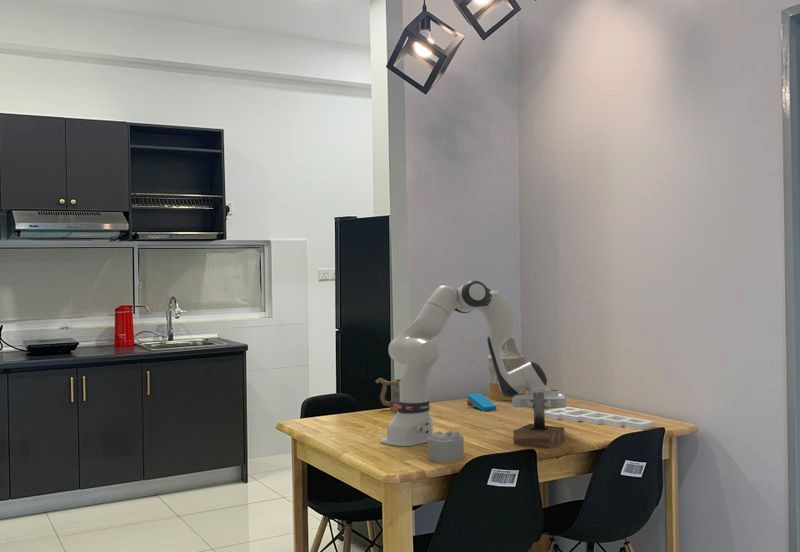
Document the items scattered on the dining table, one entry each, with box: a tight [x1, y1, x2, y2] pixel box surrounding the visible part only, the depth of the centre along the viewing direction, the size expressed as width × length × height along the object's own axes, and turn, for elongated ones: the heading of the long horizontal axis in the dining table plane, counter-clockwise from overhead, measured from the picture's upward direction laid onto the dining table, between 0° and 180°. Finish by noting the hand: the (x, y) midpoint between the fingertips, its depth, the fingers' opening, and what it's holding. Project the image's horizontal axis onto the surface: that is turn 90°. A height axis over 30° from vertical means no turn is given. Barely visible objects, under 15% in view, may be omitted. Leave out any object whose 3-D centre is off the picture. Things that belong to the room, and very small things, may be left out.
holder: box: [545, 406, 656, 431], centre depth 314 cm, size 45×18×3 cm, turn 36°
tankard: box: [375, 377, 402, 413], centre depth 350 cm, size 20×13×15 cm, turn 74°
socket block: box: [513, 423, 566, 449], centre depth 278 cm, size 14×14×5 cm
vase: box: [487, 336, 526, 402], centre depth 377 cm, size 18×18×30 cm
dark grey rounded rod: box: [533, 392, 546, 429], centre depth 278 cm, size 4×4×13 cm
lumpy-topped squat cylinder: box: [426, 430, 465, 464], centre depth 258 cm, size 10×13×9 cm
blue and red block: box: [466, 392, 497, 412], centre depth 351 cm, size 7×7×18 cm
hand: (538, 405), depth 277 cm, fingers closed on dark grey rounded rod, 4 cm apart
